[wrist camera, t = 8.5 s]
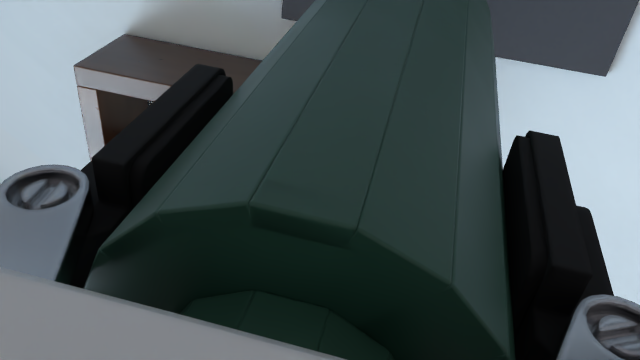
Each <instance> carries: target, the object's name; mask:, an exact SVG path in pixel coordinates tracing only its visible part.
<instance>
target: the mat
mask: <svg viewBox="0 0 640 360" xmlns="http://www.w3.org/2000/svg"><path fill="white" fill-rule="evenodd" d="M314 1H315V0H283V5H282V18H284V19H289V20H295V21H298V20H299V18H300V17H301V16H302V15H303V14H304V13H305V12H306V10H307V9H308V8H309V7H310V6H311V5H312V4H313V2H314ZM486 1H487V4H488V6H489V9H490V15H491V20H492V31H493V39H494V50H495V57H500V58H505V59H511V60H516V61H522V62H527V63H533V64H538V65H544V66H550V67H555V68H561V69H566V70H572V71H577V72H583V73H588V74H594V75H599V76H606V75H607V73H608V71H609V68H610V66H611V64H612V61H613V59H614V57H615V55H616V52H617V50H618V48H619V45H620V43H621V41H622V38H623V36H624V34H625V32H626V29H627V27H628V25H629V22H630V20H631V18H632V16H633V13H634V11H635V9H636V6H637V4H638V2H639V0H486Z"/></svg>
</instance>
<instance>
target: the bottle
mask: <svg viewBox="0 0 640 360" xmlns="http://www.w3.org/2000/svg"><path fill="white" fill-rule="evenodd" d="M83 289H86V290H90V291H93V292H97V293H101V294H105V295H109V296H112V297H116V298H120V299H124V300H127V301H131V302H135V303H139V304H143V305H146V306H150V307H154V308H158V309H162V310H165V311H169V312H173V313H177V314H180V315H184V316H188V317H191V318H195V319H199V320H203V321H206V322H210V323H214V324H217V325H221V326H225V327H229V328H232V329H236V330H240V331H243V332H247V333H251V334H255V335H258V336H262V337H266V338H269V339H273V340H277V341H280V342H284V343H288V344H292V345H295V346H299V347H303V348H306V349H310V350H314V351H317V352H321V353H325V354H328V355H332V356H336V357H339V358H343V359H347V360H516V357H515V343H514V328H513V314H512V299H511V284H510V270H509V255H508V240H507V226H506V211H505V197H504V182H503V167H502V153H501V138H500V124H499V109H498V94H497V80H496V65H495V50H494V39H493V31H492V20H491V15H490V9H489V6H488V4H487V1H486V0H315V1H314V2H313V4H312V5H311V6H310V7H309V8H308V9H307V10H306V12H305V13H304V14H303V15H302V16H301V17H300V18H299V20H298V21H297V22H296V23H295V24H294V25H293V26H292V28H291V29H290V30H289V31H288V32H287V33H286V35H285V36H284V37H283V38H282V39H281V40H280V41H279V43H278V44H277V45H276V46H275V47H274V48H273V49H272V51H271V52H270V53H269V54H268V55H267V56H266V57H265V59H264V60H263V61H262V62H261V63H260V64H259V65H258V67H257V68H256V69H255V70H254V71H253V72H252V73H251V75H250V76H249V77H248V78H247V79H246V80H245V81H244V83H243V84H242V85H241V86H240V87H239V88H238V90H237V91H236V92H235V93H234V94H233V95H232V96H231V98H230V99H229V100H228V101H227V102H226V103H225V104H224V106H223V107H222V108H221V109H220V110H219V111H218V112H217V114H216V115H215V116H214V117H213V118H212V119H211V120H210V122H209V123H208V124H207V125H206V126H205V127H204V128H203V130H202V131H201V132H200V133H199V134H198V135H197V136H196V138H195V139H194V140H193V141H192V142H191V143H190V145H189V146H188V147H187V148H186V149H185V150H184V151H183V153H182V154H181V155H180V156H179V157H178V158H177V159H176V161H175V162H174V163H173V164H172V165H171V166H170V167H169V169H168V170H167V171H166V172H165V173H164V174H163V175H162V177H161V178H160V179H159V180H158V181H157V182H156V183H155V185H154V186H153V187H152V188H151V189H150V190H149V191H148V193H147V194H146V195H145V196H144V197H143V198H142V199H141V201H140V202H139V203H138V204H137V205H136V206H135V208H134V209H133V210H132V211H131V212H130V213H129V214H128V216H127V217H126V218H125V219H124V220H123V221H122V222H121V224H120V225H119V226H118V227H117V228H116V229H115V230H114V232H113V233H112V234H111V235H110V236H109V237H108V238H107V240H106V241H105V242H104V243H103V244H102V245H101V247H100V248H99V249H98V252H97V254H96V257H95V260H94V262H93V265H92V267H91V270H90V273H89V275H88V278H87V281H86V283H85V286H84V288H83Z"/></svg>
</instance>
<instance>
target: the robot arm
mask: <svg viewBox="0 0 640 360" xmlns="http://www.w3.org/2000/svg"><path fill="white" fill-rule="evenodd" d="M232 95H233V80H232V78H231V77H228V76H226V74H225V71H224V69H222V68H217V67H212V66H207V65H202V64H196V65H194V66H193V67H192V68H191V69H190V70H189V71H188V72H187V73H185V74H184V75H183V76H182V77H181V78H180V79H179V80H178V81H177V82H175V83H174V84H173V85H172V86H171V87H170V88H169V89H168V90H167V91H165V92H164V93H163V94H162V95H161V96H160V97H159V98H158V99H156V100H155V101H154V102H153V103H152V104H151V105H150V106H149V107H148V108H146V109H145V110H144V111H143V112H142V113H141V114H140V115H139V116H138V117H136V118H135V119H134V120H133V121H132V122H131V123H130V124H129V125H127V126H126V127H125V128H124V129H123V130H122V131H121V132H120V133H119V134H117V135H116V136H115V137H114V138H113V139H112V140H111V141H110V142H109V143H107V144H106V145H105V146H104V147H103V148H102V149H101V150H100V151H98V152H97V153H96V154H95V155H94V156H93V157H92V158H91V159H92V161H91V162H89V163H88V164H87V165H86V166H85V167H84V168H83V169H82V170H81V171H80V170H79V169H76V168H73V167H70V166H65V165H41V166H36V167H32V168H28V169H25V170H23V171H20V172H18V173H15V174H13V175H12V176H10V177H9V178H7V179H6V180H4V181H3V183H2V184H1V185H0V360H347V359H343V358H339V357H336V356H332V355H328V354H325V353H321V352H317V351H314V350H310V349H306V348H303V347H299V346H295V345H292V344H288V343H284V342H280V341H277V340H273V339H269V338H266V337H262V336H258V335H255V334H251V333H247V332H243V331H240V330H236V329H232V328H229V327H225V326H221V325H217V324H214V323H210V322H206V321H203V320H199V319H195V318H191V317H188V316H184V315H180V314H177V313H173V312H169V311H165V310H162V309H158V308H154V307H150V306H146V305H143V304H139V303H135V302H131V301H127V300H124V299H120V298H116V297H112V296H109V295H105V294H101V293H97V292H93V291H90V290H86V289H83V288H84V286H85V283H86V281H87V278H88V275H89V273H90V270H91V267H92V265H93V262H94V260H95V257H96V254H97V252H98V249H99V248H100V247H101V245H102V244H103V243H104V242H105V241H106V240H107V238H108V237H109V236H110V235H111V234H112V233H113V232H114V230H115V229H116V228H117V227H118V226H119V225H120V224H121V222H122V221H123V220H124V219H125V218H126V217H127V216H128V214H129V213H130V212H131V211H132V210H133V209H134V208H135V206H136V205H137V204H138V203H139V202H140V201H141V199H142V198H143V197H144V196H145V195H146V194H147V193H148V191H149V190H150V189H151V188H152V187H153V186H154V185H155V183H156V182H157V181H158V180H159V179H160V178H161V177H162V175H163V174H164V173H165V172H166V171H167V170H168V169H169V167H170V166H171V165H172V164H173V163H174V162H175V161H176V159H177V158H178V157H179V156H180V155H181V154H182V153H183V151H184V150H185V149H186V148H187V147H188V146H189V145H190V143H191V142H192V141H193V140H194V139H195V138H196V136H197V135H198V134H199V133H200V132H201V131H202V130H203V128H204V127H205V126H206V125H207V124H208V123H209V122H210V120H211V119H212V118H213V117H214V116H215V115H216V114H217V112H218V111H219V110H220V109H221V108H222V107H223V106H224V104H225V103H226V102H227V101H228V100H229V99H230V98H231V96H232ZM503 182H504V197H505V211H506V226H507V240H508V255H509V270H510V284H511V299H512V314H513V328H514V343H515V357H516V360H640V305H638V304H636V303H635V302H632V301H629V300H626V299H624V298H621V297H617V296H614V294H613V291H612V287H611V284H610V280H609V276H608V273H607V269H606V265H605V262H604V258H603V255H602V251H601V247H600V244H599V240H598V236H597V233H596V229H595V226H594V222H593V218H592V215H591V213H590V210H589V209H587V208H585V207H580V206H576V204H575V200H574V195H573V191H572V187H571V183H570V179H569V175H568V171H567V167H566V162H565V158H564V154H563V150H562V146H561V142H560V138H559V136H554V135H549V134H544V133H539V132H534V131H529V132H528V133H527V134H526V136H525V137H522V136H516V137H515V139H514V141H513V144H512V147H511V149H510V152H509V155H508V158H507V160H506V163H505V166H504V169H503Z"/></svg>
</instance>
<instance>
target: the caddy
mask: <svg viewBox="0 0 640 360" xmlns="http://www.w3.org/2000/svg"><path fill="white" fill-rule="evenodd" d="M261 62H262V61H260V60H254V59H249V58H244V57H239V56H234V55H229V54H223V53H218V52H213V51H208V50H203V49H197V48H192V47H187V46H182V45H177V44H172V43H166V42H161V41H156V40H151V39H146V38H141V37H135V36H130V35H125V34H124V35H122V36H120V37H119V38H117V39H115V40H114V41H112V42H111V43H109V44H107V45H106V46H104V47H103V48H101V49H99V50H98V51H96V52H95V53H93V54H91V55H90V56H88V57H87V58H85V59H83V60H82V61H80V62H78V63H77V64H75V65H74V71H75V77H76V83H77V85H78V86H77V89H78V94H79V100H80V105H81V111H82V117H83V122H84V128H85V133H86V139H87V144H88V150H89V156H90V161H92V159H91V158H92V157H93V156H94V155H95V154H96V153H97V152H98V151H100V150H101V149H102V148H103V147H104V146H105V145H106V144H107V143H109V142H110V141H111V140H112V139H113V138H114V137H115V136H116V135H117V134H119V133H120V132H121V131H122V130H123V129H124V128H125V127H126V126H127V125H129V124H130V123H131V122H132V121H133V120H134V119H135V118H136V117H138V116H139V115H140V114H141V113H142V112H143V111H144V110H145V109H146V108H148V100H149V101H155V100H156V99H158V98H159V97H160V96H161V95H162V94H163V93H164V92H165V91H167V90H168V89H169V88H170V87H171V86H172V85H173V84H174V83H175V82H177V81H178V80H179V79H180V78H181V77H182V76H183V75H184V74H185V73H187V72H188V71H189V70H190V69H191V68H192V67H193V66H194V65H196V64H202V65H207V66H212V67H217V68H222V69H224V71H225V74H226V76H228V77H231V78H232V80H233V94H234V93H235V92H236V91H237V90H238V88H239V87H240V86H241V85H242V84H243V83H244V81H245V80H246V79H247V78H248V77H249V76H250V75H251V73H252V72H253V71H254V70H255V69H256V68H257V67H258V65H259V64H260V63H261Z"/></svg>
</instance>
